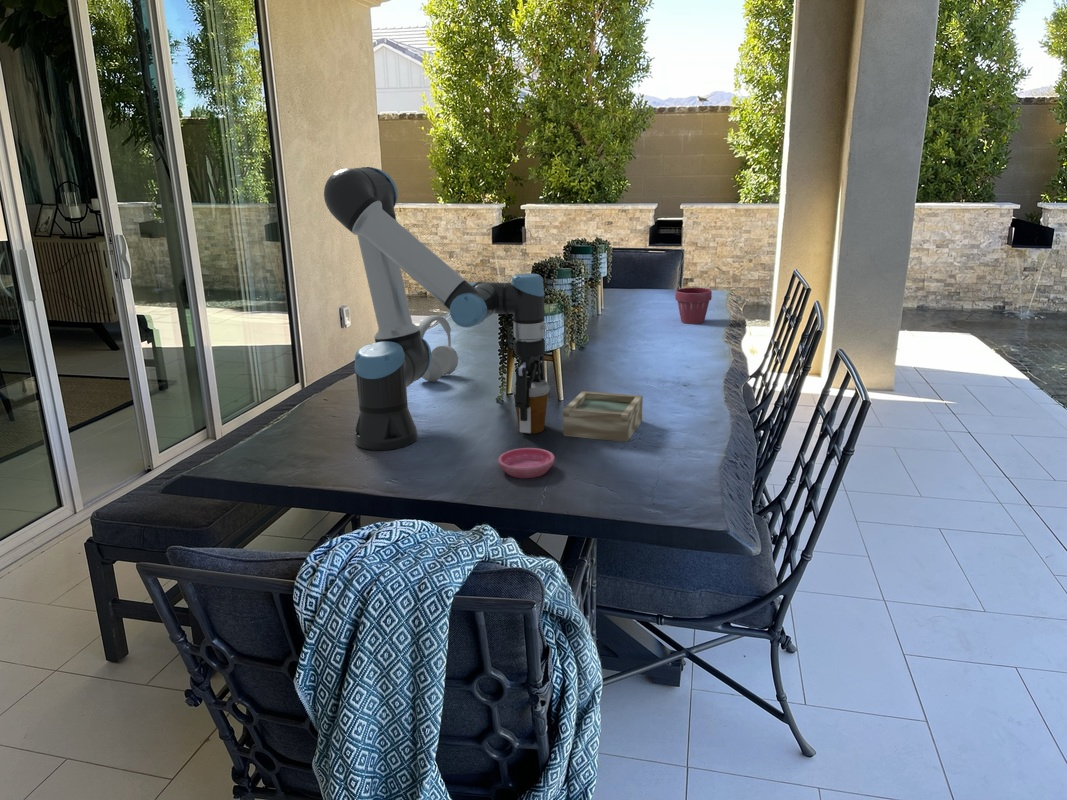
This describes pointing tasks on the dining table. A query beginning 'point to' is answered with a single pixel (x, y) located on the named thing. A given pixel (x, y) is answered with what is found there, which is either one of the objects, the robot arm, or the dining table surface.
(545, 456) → the saucer
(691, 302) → the plant pot
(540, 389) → the disposable coffee cup
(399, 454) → the dining table surface
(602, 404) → the open wooden box
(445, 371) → the headphones
